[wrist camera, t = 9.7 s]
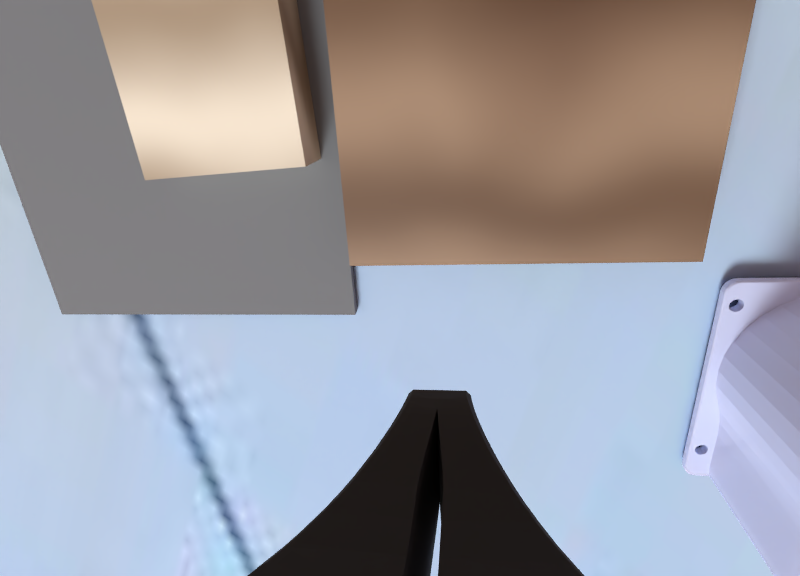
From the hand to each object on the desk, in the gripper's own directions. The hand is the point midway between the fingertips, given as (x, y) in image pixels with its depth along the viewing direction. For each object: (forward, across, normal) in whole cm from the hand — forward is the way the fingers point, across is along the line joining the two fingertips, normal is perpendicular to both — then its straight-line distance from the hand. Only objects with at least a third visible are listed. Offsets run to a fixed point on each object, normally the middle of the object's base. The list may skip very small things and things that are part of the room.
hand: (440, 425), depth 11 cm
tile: (+9, +8, -9) cm, 15 cm away
